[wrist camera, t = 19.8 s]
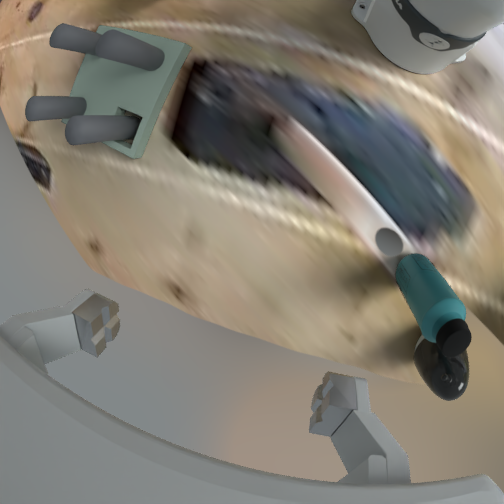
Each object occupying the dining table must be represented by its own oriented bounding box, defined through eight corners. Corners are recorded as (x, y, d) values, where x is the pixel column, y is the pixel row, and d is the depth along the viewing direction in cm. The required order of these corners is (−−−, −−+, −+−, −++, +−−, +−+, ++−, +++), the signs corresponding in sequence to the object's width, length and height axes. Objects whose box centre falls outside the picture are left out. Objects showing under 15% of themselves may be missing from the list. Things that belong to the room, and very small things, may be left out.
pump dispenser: (442, 306, 42) (474, 361, 28) (462, 336, 43) (489, 389, 29) (399, 339, 46) (417, 400, 32) (422, 365, 47) (439, 422, 34)
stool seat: (70, 121, 43) (15, 126, 31) (107, 27, 35) (56, 11, 22) (141, 157, 43) (84, 168, 31) (191, 47, 35) (144, 19, 22)
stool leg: (125, 115, 41) (67, 115, 28) (144, 116, 41) (86, 115, 28) (122, 137, 43) (63, 144, 30) (140, 140, 42) (82, 146, 30)
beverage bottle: (384, 271, 42) (418, 355, 24) (410, 239, 39) (464, 309, 21) (409, 291, 42) (448, 376, 24) (435, 262, 40) (490, 336, 22)
